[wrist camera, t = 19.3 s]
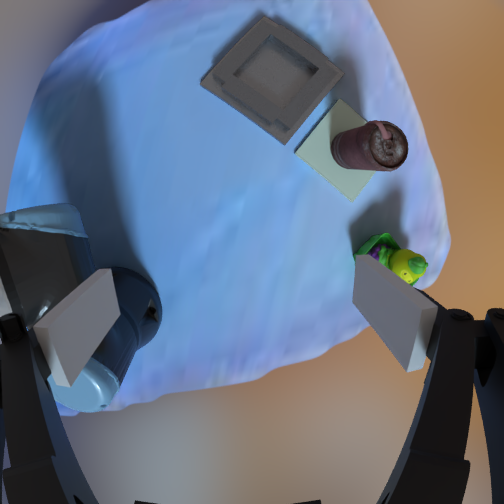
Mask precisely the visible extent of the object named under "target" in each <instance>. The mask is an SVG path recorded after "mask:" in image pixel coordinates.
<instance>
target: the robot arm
mask: <svg viewBox="0 0 504 504" xmlns="http://www.w3.org/2000/svg"><path fill="white" fill-rule="evenodd" d="M352 302H353V304H354V305H355V306H356V307H357V309H358V310H359V311H360V312H361V314H362V315H363V316H364V317H365V319H366V320H367V321H368V322H369V324H370V325H371V326H372V328H373V329H374V330H375V331H376V333H377V334H378V335H379V336H380V338H381V339H382V340H383V342H384V343H385V344H386V346H387V347H388V348H389V350H391V352H392V353H393V355H394V356H395V357H396V359H397V360H398V361H399V363H400V364H401V365H402V367H403V368H404V369H405V371H406V372H410V371H414V370H418V369H421V368H423V364H424V361H425V358H426V356H427V357H428V358H429V359H430V360H431V363H430V366H429V369H428V372H427V375H426V378H425V381H424V388H423V391H422V395H421V398H420V401H419V404H418V407H417V410H416V413H415V416H414V419H413V422H412V425H411V427H410V430H409V433H408V436H407V438H406V441H405V443H404V446H403V448H402V451H401V453H400V455H399V458H398V460H397V462H396V465H395V467H394V469H393V471H392V474H391V476H390V478H389V480H388V482H387V484H386V486H385V488H384V490H383V492H382V494H381V496H380V498H379V500H378V502H377V503H376V504H462V501H463V497H464V493H465V489H466V485H467V481H468V477H469V472H470V462H469V461H468V460H464V454H465V450H466V444H467V438H468V432H469V425H470V417H471V408H472V397H473V384H474V386H475V389H476V393H477V398H478V402H479V406H480V411H481V415H482V420H483V426H484V431H485V436H486V443H487V449H488V457H489V465H490V475H491V488H492V504H504V309H502V308H491V309H489V310H488V311H487V314H486V318H485V320H474V318H473V316H472V315H471V314H470V313H468V312H466V311H464V310H461V309H448V310H447V309H445V308H444V307H443V306H442V305H440V304H439V303H438V302H437V301H434V299H433V298H431V297H429V295H427V294H426V293H425V292H424V291H421V290H419V289H417V288H414V287H412V286H411V285H410V284H408V283H407V282H406V281H404V280H403V279H402V278H400V277H399V276H398V275H396V274H395V273H394V272H392V271H391V270H390V269H388V268H387V267H385V266H384V265H383V264H381V263H380V262H379V261H377V260H376V259H374V258H373V257H372V256H370V255H369V254H367V255H356V263H355V278H354V290H353V301H352ZM161 320H162V307H161V302H160V299H159V297H158V295H157V293H156V291H155V290H154V288H153V287H152V286H151V284H150V283H149V282H148V281H147V280H146V279H145V278H143V277H142V276H141V275H139V274H138V273H136V272H134V271H132V270H129V269H126V268H121V267H111V268H106V269H98V270H97V271H96V269H95V265H94V262H93V258H92V255H91V251H90V247H89V243H88V235H87V234H86V233H85V230H84V227H83V223H82V220H81V216H80V213H79V211H78V209H77V208H76V207H75V206H73V205H71V204H67V203H59V204H49V205H41V206H35V207H29V208H24V209H20V210H17V211H12V212H9V213H4V214H0V338H1V341H2V344H0V504H2V471H3V481H4V486H5V490H6V495H7V499H8V503H9V504H99V503H98V501H97V500H96V498H95V496H94V494H93V492H92V490H91V488H90V486H89V484H88V483H87V480H86V478H85V476H84V474H83V472H82V470H81V468H80V466H79V464H78V461H77V459H76V457H75V454H74V452H73V450H72V447H71V445H70V442H69V440H68V437H67V435H66V432H65V429H64V427H63V424H62V421H61V418H60V415H59V412H58V409H57V406H56V403H55V401H57V402H59V403H61V404H62V405H64V406H66V407H68V408H71V409H73V410H77V411H81V412H98V411H101V410H103V409H105V408H106V407H107V406H108V405H109V404H110V403H111V401H112V399H113V398H114V396H115V395H116V394H117V392H118V391H119V389H120V386H121V383H122V381H123V379H124V377H125V374H126V372H127V370H128V368H129V365H130V363H131V361H132V359H133V357H134V354H135V352H136V351H137V350H138V349H140V348H141V347H143V346H144V345H146V344H147V343H149V342H150V341H151V340H152V339H153V337H154V336H155V335H156V333H157V331H158V329H159V326H160V324H161ZM26 327H27V328H26ZM27 329H28V331H27ZM5 439H6V441H7V447H8V453H9V458H10V464H11V467H10V468H7V469H4V470H2V469H3V457H4V447H5ZM134 504H156V503H148V502H141V501H135V503H134ZM294 504H321V501H320V500H315V501H309V502H302V503H294Z"/></svg>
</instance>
